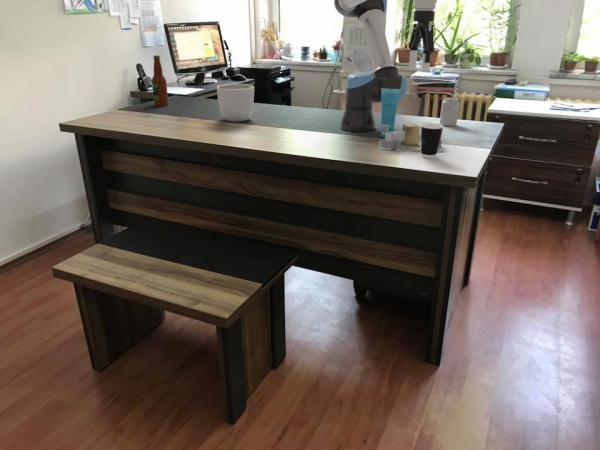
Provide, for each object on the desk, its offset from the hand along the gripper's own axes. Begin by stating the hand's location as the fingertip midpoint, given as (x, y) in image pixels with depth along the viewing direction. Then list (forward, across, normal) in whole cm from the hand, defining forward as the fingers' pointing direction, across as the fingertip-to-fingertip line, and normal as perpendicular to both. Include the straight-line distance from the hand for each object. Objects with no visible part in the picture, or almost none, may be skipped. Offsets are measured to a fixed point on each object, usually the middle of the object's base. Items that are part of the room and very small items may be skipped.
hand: (418, 69), depth 192 cm
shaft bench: (+27, -14, +6) cm, 31 cm away
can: (+27, +22, -26) cm, 43 cm away
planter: (+27, +42, +69) cm, 86 cm away
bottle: (+27, +85, +108) cm, 140 cm away
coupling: (+26, -11, +5) cm, 29 cm away
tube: (+27, +4, +9) cm, 29 cm away
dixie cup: (+27, -27, +4) cm, 38 cm away
